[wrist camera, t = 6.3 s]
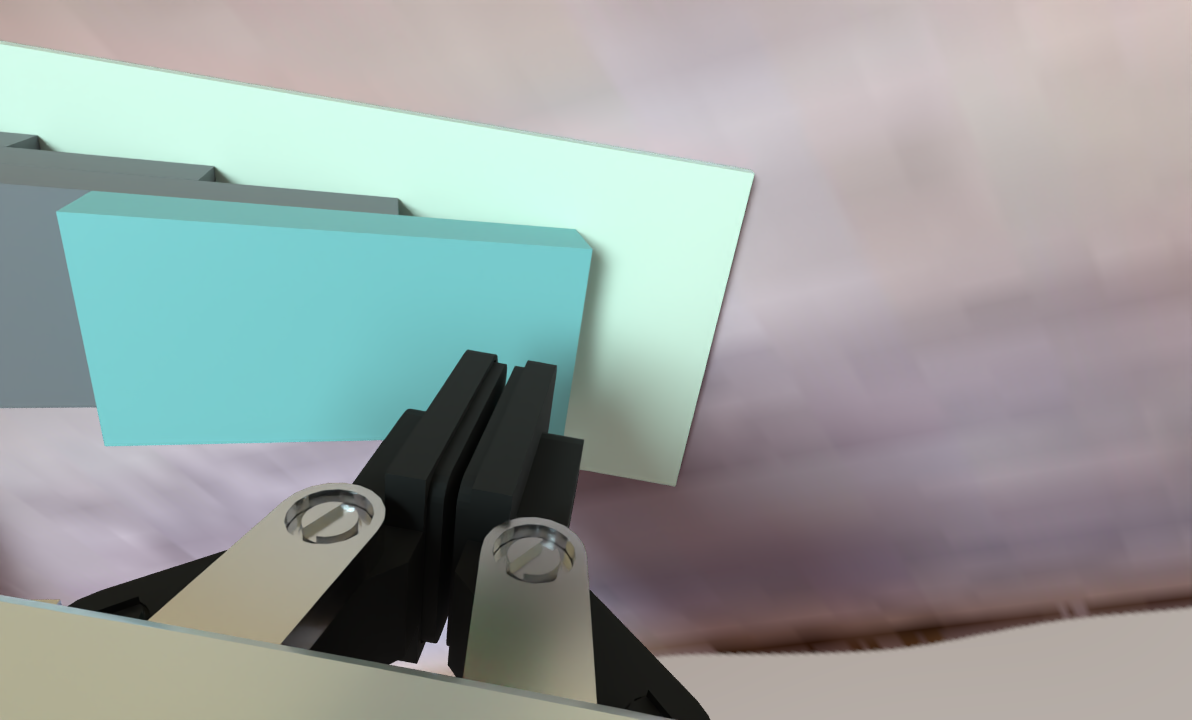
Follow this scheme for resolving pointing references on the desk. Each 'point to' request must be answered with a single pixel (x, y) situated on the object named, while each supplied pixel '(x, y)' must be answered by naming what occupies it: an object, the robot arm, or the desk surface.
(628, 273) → the mat
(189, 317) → the tile
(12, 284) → the tile
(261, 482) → the desk surface
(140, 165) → the tile
